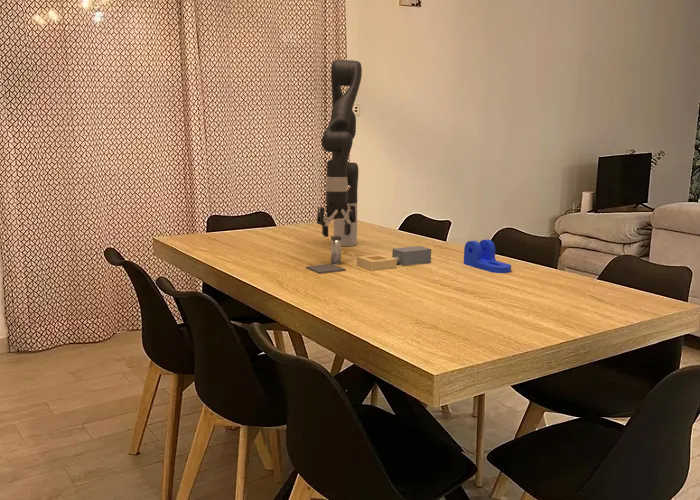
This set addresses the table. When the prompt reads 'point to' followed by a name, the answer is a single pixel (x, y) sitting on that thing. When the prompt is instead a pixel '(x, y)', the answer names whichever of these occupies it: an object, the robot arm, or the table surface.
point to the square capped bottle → (335, 250)
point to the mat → (325, 268)
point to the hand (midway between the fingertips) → (336, 235)
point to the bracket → (484, 257)
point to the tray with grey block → (396, 258)
